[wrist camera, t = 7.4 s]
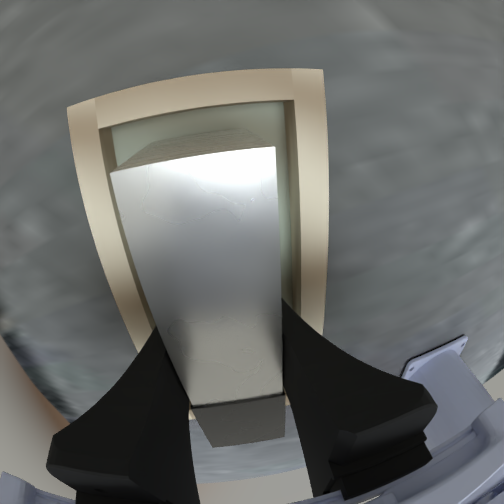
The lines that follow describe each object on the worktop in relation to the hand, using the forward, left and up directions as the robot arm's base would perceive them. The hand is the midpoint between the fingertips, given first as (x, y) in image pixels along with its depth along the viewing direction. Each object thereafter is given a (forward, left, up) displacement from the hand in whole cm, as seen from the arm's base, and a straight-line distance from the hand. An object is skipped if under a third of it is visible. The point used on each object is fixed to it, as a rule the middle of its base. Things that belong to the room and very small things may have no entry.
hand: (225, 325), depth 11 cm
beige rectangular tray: (0, 0, -3) cm, 3 cm away
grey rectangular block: (+1, 0, -2) cm, 2 cm away
